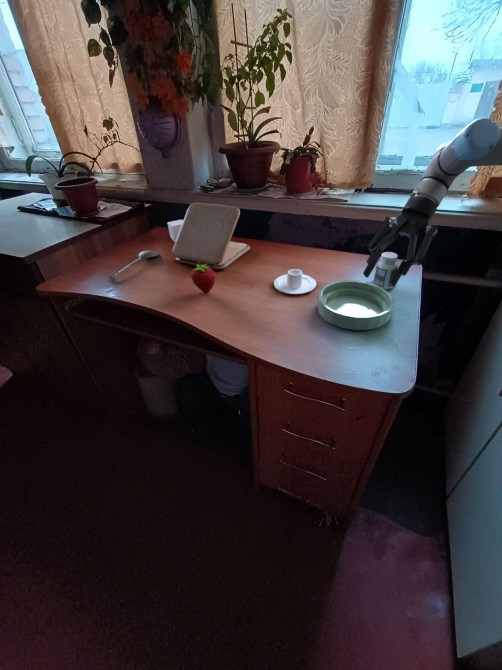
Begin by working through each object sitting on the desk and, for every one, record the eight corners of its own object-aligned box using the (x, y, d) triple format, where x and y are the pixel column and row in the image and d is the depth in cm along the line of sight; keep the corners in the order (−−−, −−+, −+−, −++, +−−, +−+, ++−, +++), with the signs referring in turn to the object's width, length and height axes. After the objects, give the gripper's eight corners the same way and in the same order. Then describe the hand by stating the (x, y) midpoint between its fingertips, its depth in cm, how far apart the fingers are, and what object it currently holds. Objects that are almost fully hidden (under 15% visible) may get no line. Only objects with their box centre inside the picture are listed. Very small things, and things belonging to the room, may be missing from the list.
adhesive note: (189, 238, 123) (186, 223, 119) (174, 242, 121) (171, 226, 117) (184, 234, 127) (181, 219, 124) (170, 237, 125) (167, 222, 122)
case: (171, 262, 106) (160, 214, 96) (207, 241, 120) (201, 197, 110) (220, 273, 97) (214, 221, 87) (253, 249, 111) (251, 202, 102)
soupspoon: (164, 256, 112) (149, 255, 114) (161, 247, 110) (147, 246, 112) (119, 282, 95) (104, 280, 98) (116, 272, 94) (100, 270, 96)
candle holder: (293, 272, 96) (293, 258, 93) (324, 284, 88) (326, 270, 86) (265, 286, 90) (264, 272, 87) (296, 301, 82) (297, 286, 80)
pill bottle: (390, 280, 89) (397, 250, 83) (395, 289, 84) (403, 258, 79) (371, 280, 89) (377, 250, 84) (375, 289, 85) (381, 259, 80)
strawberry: (208, 302, 84) (202, 268, 78) (189, 294, 88) (182, 261, 82) (222, 292, 88) (218, 259, 82) (203, 285, 92) (198, 253, 85)
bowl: (400, 306, 78) (404, 292, 75) (372, 341, 68) (376, 326, 65) (337, 287, 87) (339, 274, 84) (304, 315, 77) (305, 302, 74)
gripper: (464, 218, 79) (417, 298, 80) (390, 204, 91) (350, 274, 92) (464, 200, 73) (413, 287, 74) (384, 188, 85) (342, 263, 86)
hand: (378, 280), depth 83 cm, fingers open, 7 cm apart
